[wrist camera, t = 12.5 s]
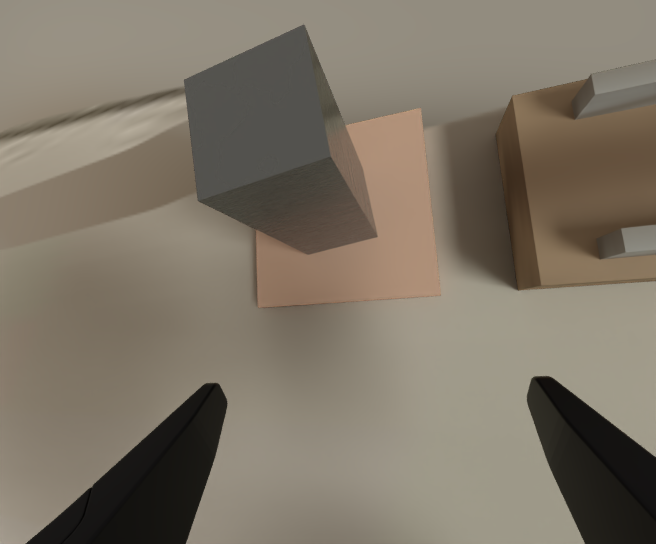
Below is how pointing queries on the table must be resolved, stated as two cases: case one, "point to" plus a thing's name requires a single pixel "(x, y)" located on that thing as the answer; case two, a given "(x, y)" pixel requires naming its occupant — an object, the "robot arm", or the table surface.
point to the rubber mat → (373, 254)
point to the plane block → (582, 180)
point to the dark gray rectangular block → (278, 147)
